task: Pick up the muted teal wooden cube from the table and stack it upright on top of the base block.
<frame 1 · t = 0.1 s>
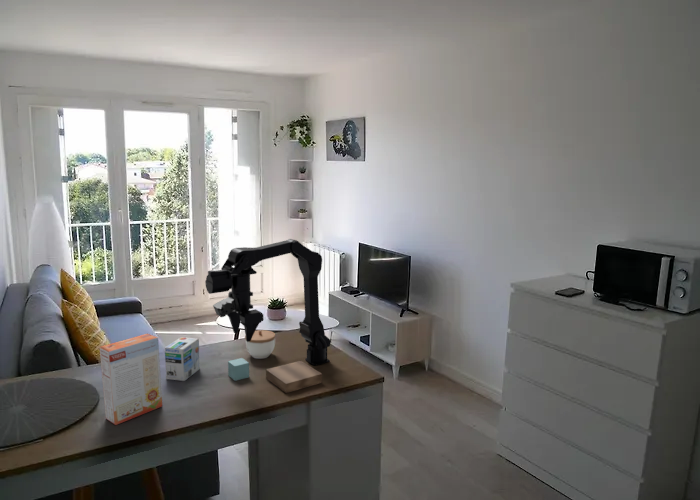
hand: (242, 337, 162), 15 cm above the table, tool pointing down, fingers open, 9 cm apart
block: (238, 376, 168), on the table
light bulb box: (183, 374, 169), on the table
plinth: (293, 380, 165), on the table
lidded jar: (260, 356, 185), on the table
cracker box: (134, 413, 143), on the table
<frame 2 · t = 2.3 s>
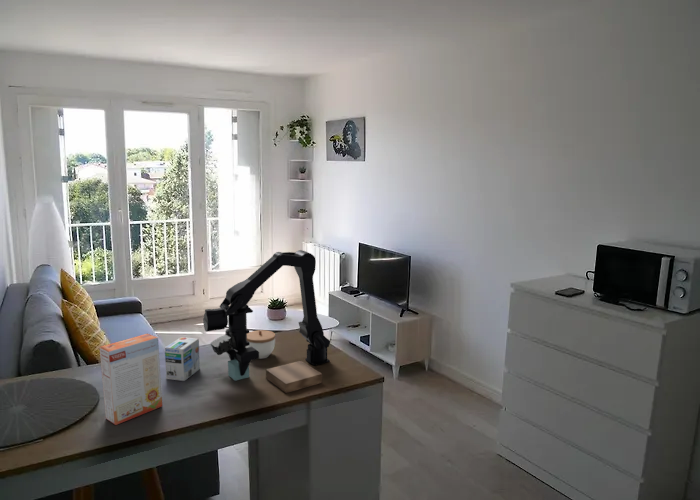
hand: (238, 372, 167), 1 cm above the table, tool pointing down, fingers closed on block, 5 cm apart
block: (238, 376, 168), on the table, touching gripper
everything else where it was.
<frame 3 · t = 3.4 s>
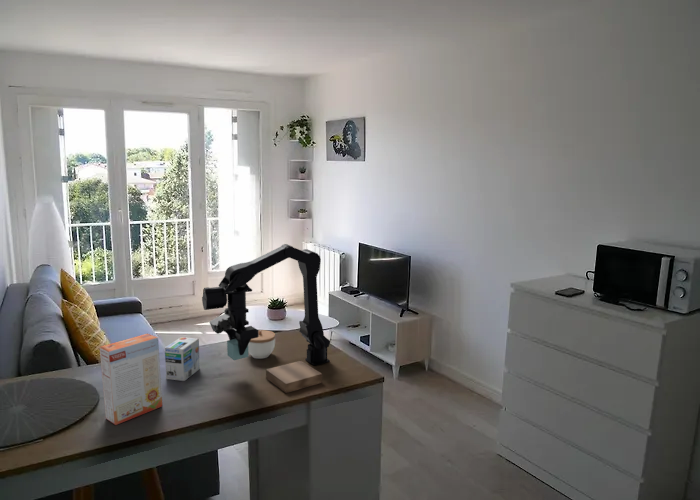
hand: (237, 352, 166), 8 cm above the table, tool pointing down, fingers closed on block, 5 cm apart
block: (238, 356, 166), point 7 cm above the table, touching gripper
everything else where it was.
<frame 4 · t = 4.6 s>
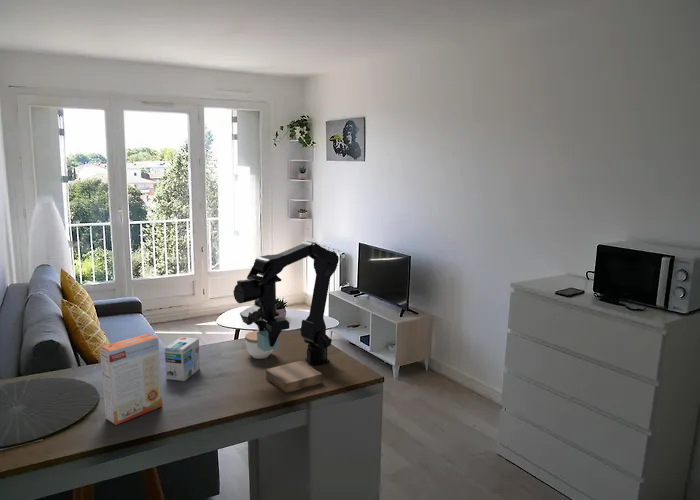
hand: (268, 343, 165), 12 cm above the table, tool pointing down, fingers closed on block, 5 cm apart
block: (268, 347, 165), point 10 cm above the table, touching gripper
everything else where it was.
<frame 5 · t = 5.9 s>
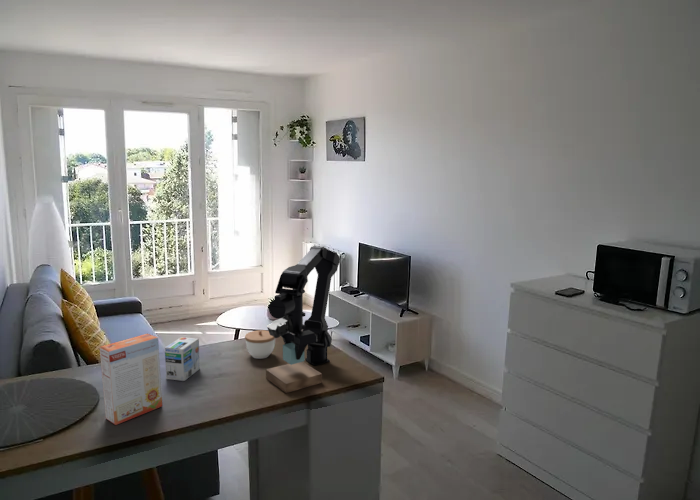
hand: (293, 356, 164), 8 cm above the table, tool pointing down, fingers closed on block, 5 cm apart
block: (293, 360, 164), point 7 cm above the table, touching gripper
everything else where it was.
when the fingers open (6 cm above the table, at t = 7.1 s): block drops 1 cm, resting on plinth.
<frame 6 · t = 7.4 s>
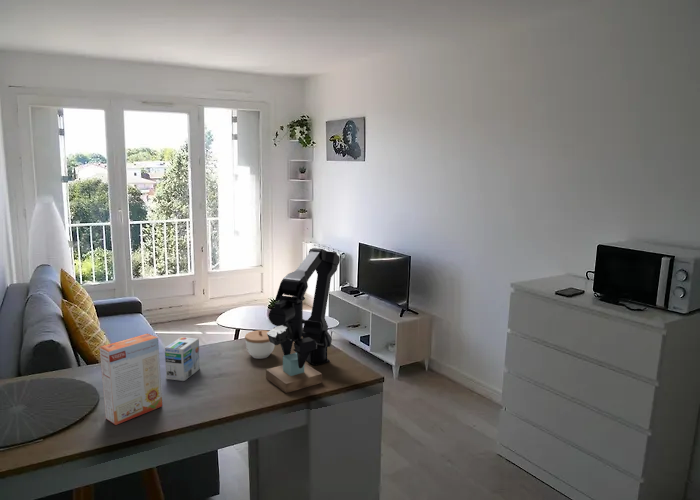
hand: (293, 363, 164), 6 cm above the table, tool pointing down, fingers open, 8 cm apart
block: (293, 371, 165), point 3 cm above the table, touching plinth
everything else where it was.
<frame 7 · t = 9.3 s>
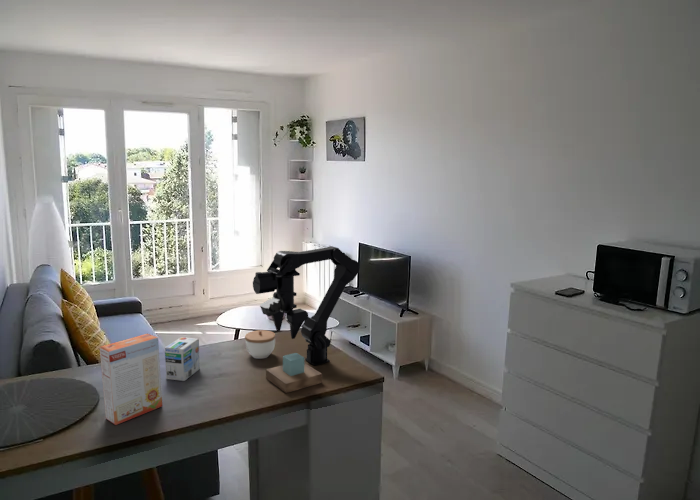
hand: (285, 334, 172), 12 cm above the table, tool pointing down, fingers open, 9 cm apart
nothing on the table moved.
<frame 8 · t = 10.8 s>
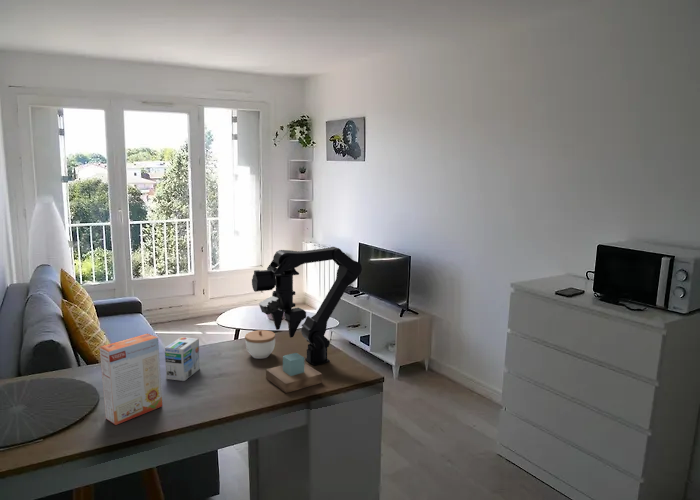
hand: (284, 333, 173), 12 cm above the table, tool pointing down, fingers open, 9 cm apart
nothing on the table moved.
at the end: block inside the target area on the plinth (0.0 cm from its centre), point 3.0 cm above the plinth's base; block tilted 0°; the gripper is holding nothing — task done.
